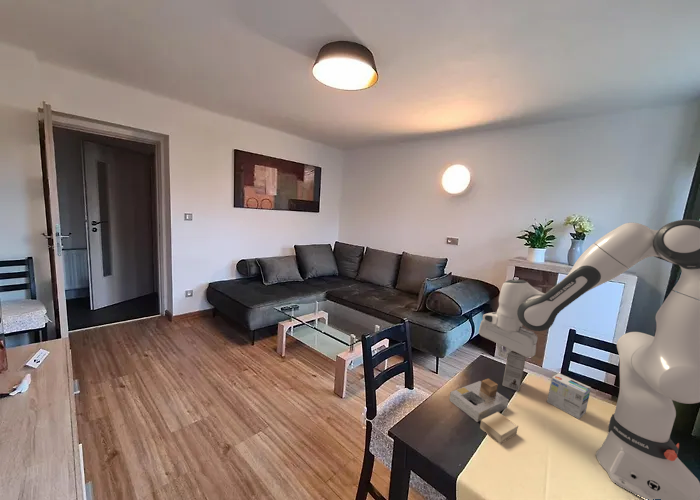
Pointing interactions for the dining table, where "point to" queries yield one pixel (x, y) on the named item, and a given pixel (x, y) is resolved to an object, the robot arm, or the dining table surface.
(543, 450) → the dining table surface
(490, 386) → the walnut block
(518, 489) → the dining table surface
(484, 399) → the plate
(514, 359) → the coffee box
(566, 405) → the light bulb box
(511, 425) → the beige rectangular block
